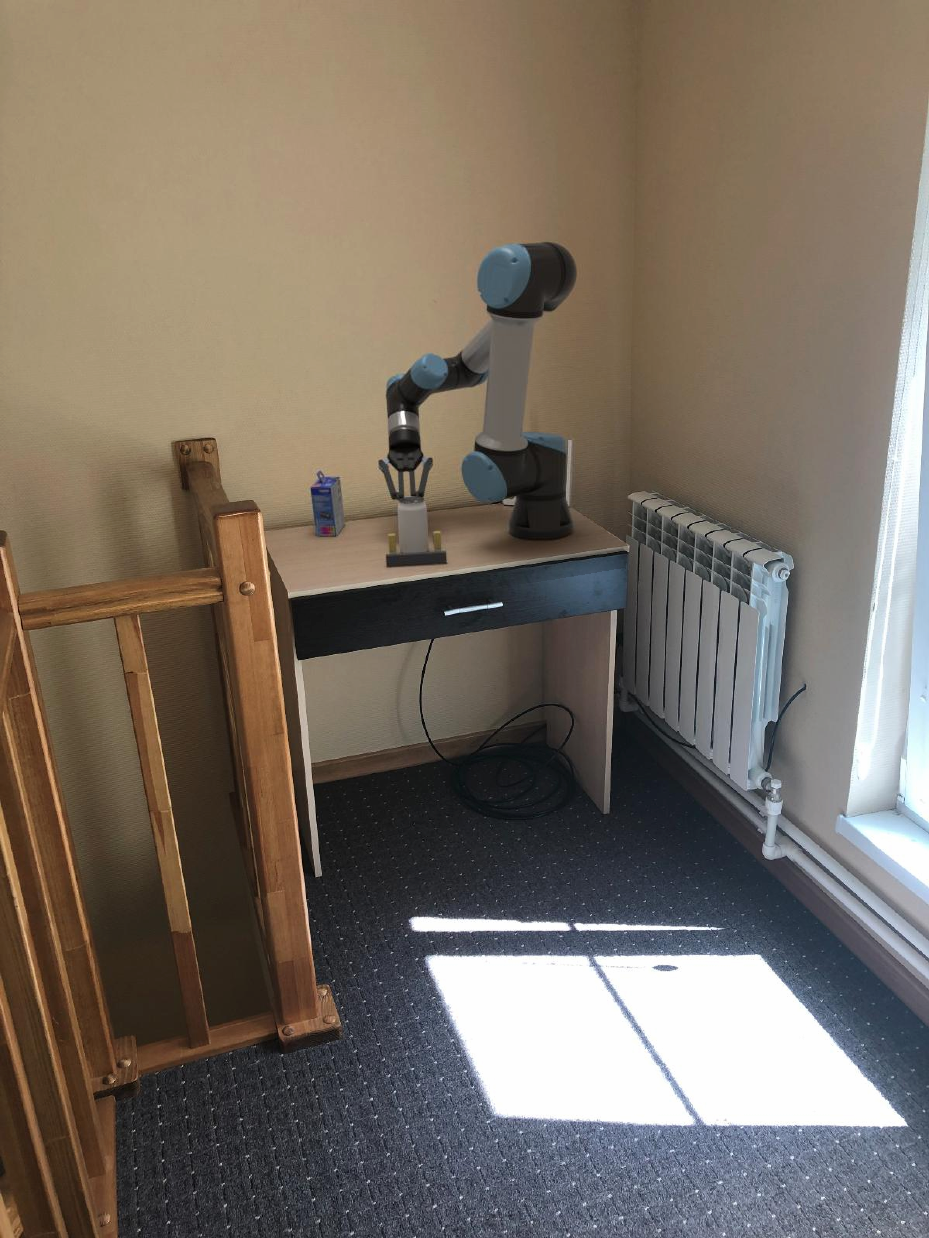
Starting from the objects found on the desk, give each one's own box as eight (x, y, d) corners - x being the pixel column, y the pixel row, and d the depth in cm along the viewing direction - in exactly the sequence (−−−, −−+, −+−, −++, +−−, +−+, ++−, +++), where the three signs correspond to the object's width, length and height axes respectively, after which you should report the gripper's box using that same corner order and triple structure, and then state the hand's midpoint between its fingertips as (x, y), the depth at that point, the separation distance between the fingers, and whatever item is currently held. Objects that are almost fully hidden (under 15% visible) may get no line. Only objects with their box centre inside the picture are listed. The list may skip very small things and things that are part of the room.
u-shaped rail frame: (441, 537, 240) (440, 516, 238) (446, 563, 222) (445, 541, 220) (386, 540, 239) (384, 520, 237) (386, 567, 221) (385, 544, 219)
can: (434, 552, 229) (431, 500, 225) (408, 558, 226) (405, 505, 222) (419, 545, 234) (417, 494, 230) (394, 550, 231) (391, 499, 227)
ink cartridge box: (323, 524, 253) (318, 467, 248) (345, 524, 252) (340, 466, 247) (314, 536, 244) (308, 477, 239) (337, 536, 243) (331, 476, 238)
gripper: (432, 443, 245) (437, 530, 236) (377, 445, 244) (380, 533, 235) (432, 425, 238) (437, 515, 229) (375, 428, 237) (379, 518, 228)
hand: (409, 524), depth 232 cm, fingers closed
